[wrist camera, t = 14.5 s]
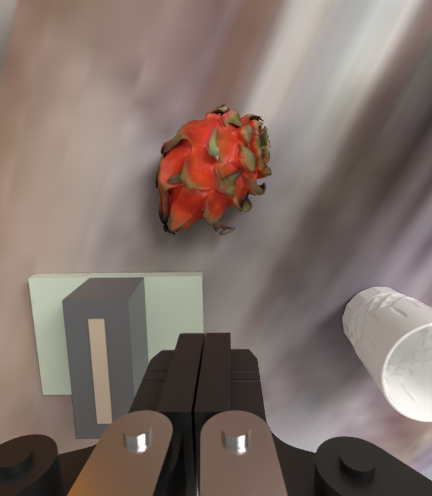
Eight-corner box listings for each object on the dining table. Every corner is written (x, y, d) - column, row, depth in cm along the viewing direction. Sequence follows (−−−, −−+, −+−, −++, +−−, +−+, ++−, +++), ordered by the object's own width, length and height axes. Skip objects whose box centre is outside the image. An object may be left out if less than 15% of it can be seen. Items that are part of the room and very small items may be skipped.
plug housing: (144, 277, 33) (127, 300, 27) (150, 394, 35) (136, 439, 29) (89, 277, 33) (61, 301, 27) (99, 394, 35) (75, 440, 29)
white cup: (431, 301, 35) (515, 351, 25) (387, 367, 36) (451, 438, 26) (362, 266, 34) (421, 303, 24) (320, 334, 35) (360, 395, 26)
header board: (202, 271, 34) (200, 286, 30) (205, 384, 36) (203, 413, 32) (36, 273, 34) (9, 288, 30) (49, 386, 37) (27, 415, 32)
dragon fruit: (267, 125, 33) (183, 216, 36) (205, 59, 27) (113, 175, 31) (317, 170, 27) (212, 273, 31) (252, 99, 21) (131, 236, 25)
